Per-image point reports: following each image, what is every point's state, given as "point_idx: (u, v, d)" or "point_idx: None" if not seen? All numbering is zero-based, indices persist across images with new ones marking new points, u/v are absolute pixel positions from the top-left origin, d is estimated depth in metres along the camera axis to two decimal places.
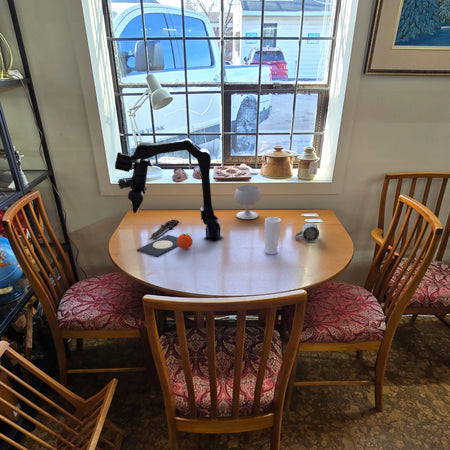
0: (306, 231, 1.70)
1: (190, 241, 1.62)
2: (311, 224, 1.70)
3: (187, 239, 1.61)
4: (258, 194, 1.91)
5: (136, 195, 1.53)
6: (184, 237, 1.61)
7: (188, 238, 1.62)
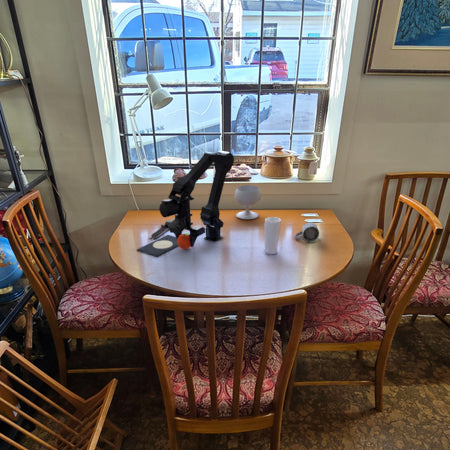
0: (306, 231, 1.70)
1: None
2: (311, 224, 1.70)
3: (187, 239, 1.61)
4: (258, 194, 1.91)
5: (201, 230, 1.56)
6: (184, 237, 1.61)
7: (188, 238, 1.62)
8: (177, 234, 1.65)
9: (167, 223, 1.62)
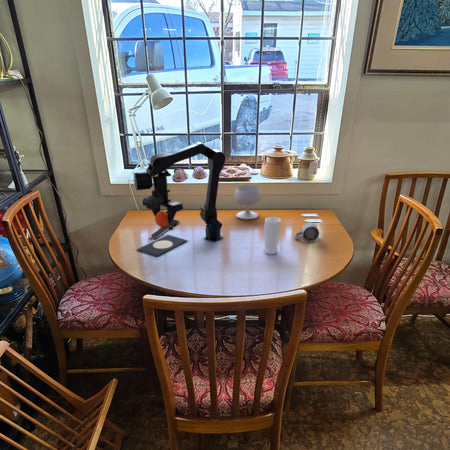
0: (306, 231, 1.70)
1: None
2: (311, 224, 1.70)
3: (165, 216, 1.58)
4: (258, 194, 1.91)
5: (179, 206, 1.53)
6: (162, 214, 1.58)
7: (166, 215, 1.58)
8: (155, 211, 1.61)
9: (144, 200, 1.59)
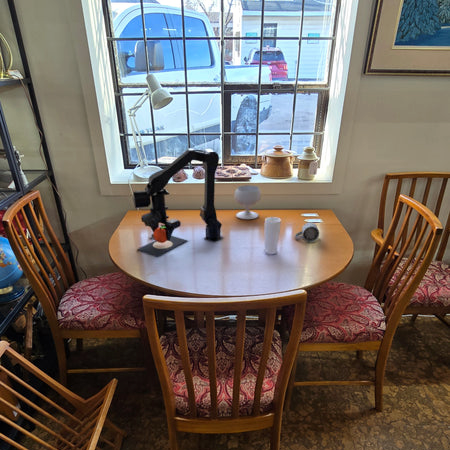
0: (306, 231, 1.70)
1: None
2: (311, 224, 1.70)
3: (163, 233, 1.63)
4: (258, 194, 1.91)
5: (176, 223, 1.58)
6: (160, 231, 1.62)
7: (164, 232, 1.63)
8: (153, 228, 1.66)
9: (143, 217, 1.64)
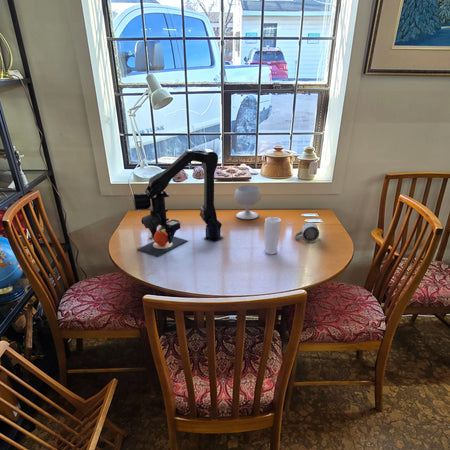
0: (306, 231, 1.70)
1: (166, 237, 1.64)
2: (311, 224, 1.70)
3: (163, 235, 1.63)
4: (258, 194, 1.91)
5: (176, 225, 1.58)
6: (160, 233, 1.63)
7: (164, 234, 1.64)
8: (152, 229, 1.67)
9: (143, 219, 1.64)
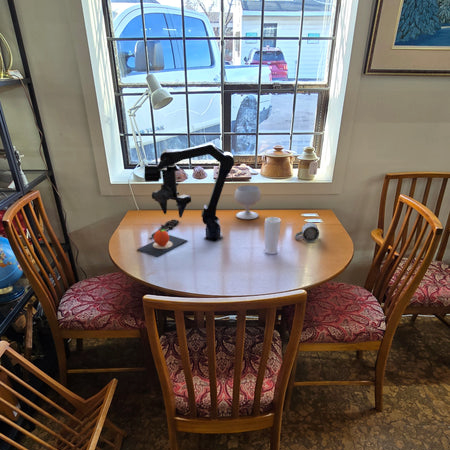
0: (306, 231, 1.70)
1: (166, 237, 1.64)
2: (311, 224, 1.70)
3: (163, 235, 1.63)
4: (258, 194, 1.91)
5: (187, 198, 1.60)
6: (160, 233, 1.63)
7: (164, 234, 1.64)
8: (162, 204, 1.68)
9: (154, 193, 1.66)
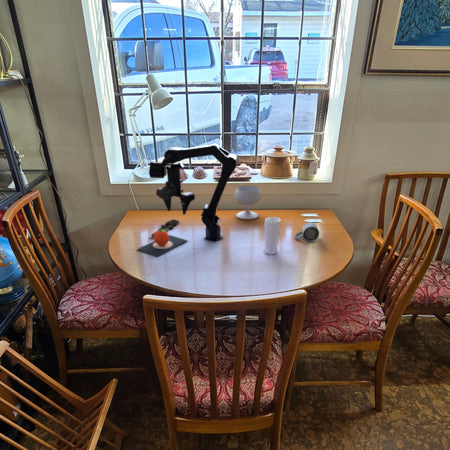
0: (306, 231, 1.70)
1: (166, 237, 1.64)
2: (311, 224, 1.70)
3: (163, 235, 1.63)
4: (258, 194, 1.91)
5: (191, 196, 1.62)
6: (160, 233, 1.63)
7: (164, 234, 1.64)
8: (166, 201, 1.70)
9: (158, 190, 1.68)
